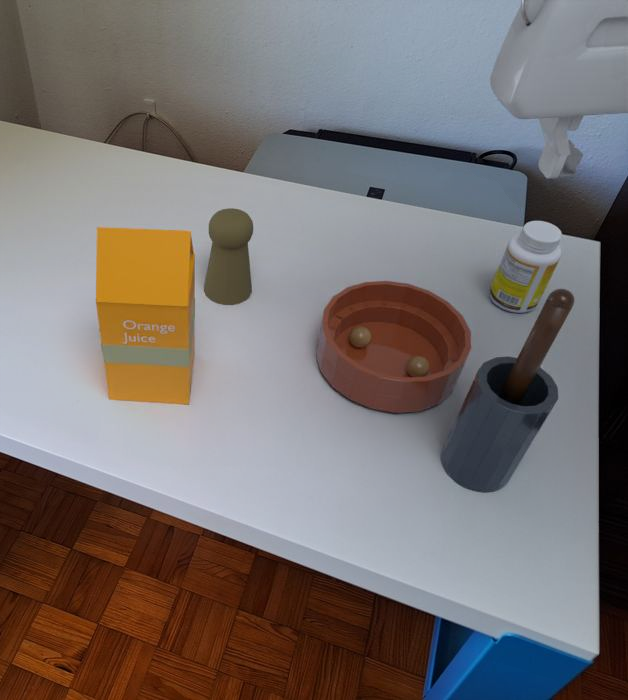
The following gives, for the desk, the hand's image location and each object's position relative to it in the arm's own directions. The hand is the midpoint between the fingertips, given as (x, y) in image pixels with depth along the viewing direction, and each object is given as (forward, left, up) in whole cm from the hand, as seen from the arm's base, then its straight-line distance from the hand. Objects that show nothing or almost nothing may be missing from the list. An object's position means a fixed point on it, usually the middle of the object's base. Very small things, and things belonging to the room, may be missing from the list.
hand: (627, 168), depth 43 cm
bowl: (+5, -14, -33) cm, 36 cm away
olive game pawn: (+21, -28, -33) cm, 48 cm away
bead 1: (+7, -17, -31) cm, 36 cm away
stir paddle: (0, 0, -32) cm, 32 cm away
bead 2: (+2, -12, -31) cm, 33 cm away
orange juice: (+31, -14, -33) cm, 47 cm away
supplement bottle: (-13, -23, -33) cm, 42 cm away
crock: (0, 0, -33) cm, 33 cm away
